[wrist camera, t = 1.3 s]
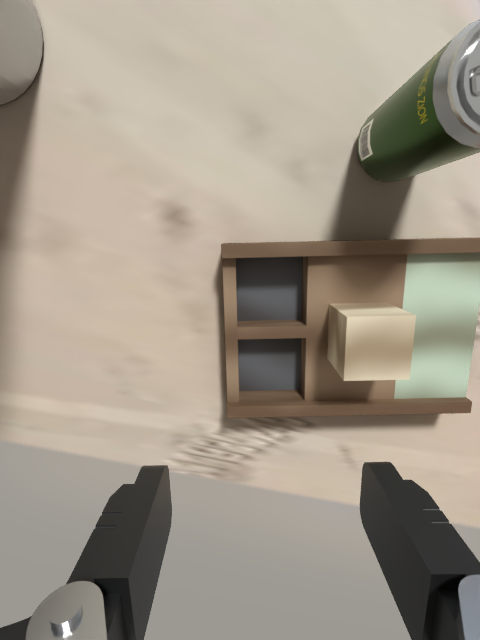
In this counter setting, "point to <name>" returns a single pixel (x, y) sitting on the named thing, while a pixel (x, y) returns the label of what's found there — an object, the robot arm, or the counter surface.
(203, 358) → the counter surface
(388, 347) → the maple block
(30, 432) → the counter surface
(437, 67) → the beer can
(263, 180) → the counter surface
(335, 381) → the box
